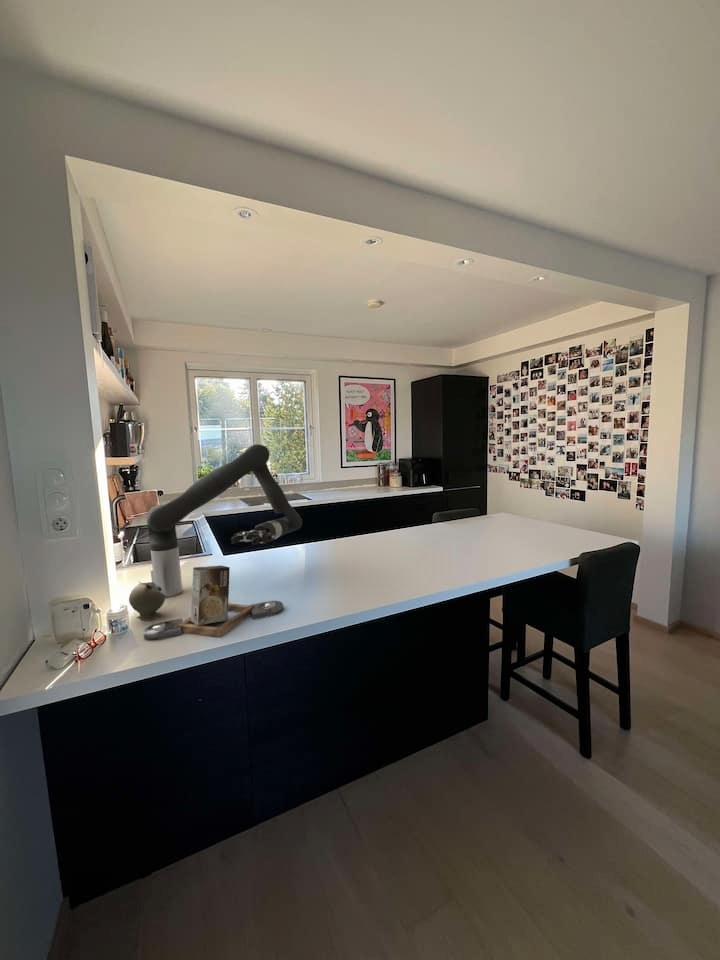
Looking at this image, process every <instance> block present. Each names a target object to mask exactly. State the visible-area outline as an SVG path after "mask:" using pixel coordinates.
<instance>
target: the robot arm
mask: <svg viewBox="0 0 720 960" xmlns="http://www.w3.org/2000/svg"><path fill="white" fill-rule="evenodd" d="M269 460H270V450H269V449H268V448H267V447H266V446H265V445H262V444H257V443H256V444H253V445H251V446H249V447H247V448H246V449H245V451H244V452H243V453H242V454H240V455H239V456H238V457H236V458H235V459H233V460H231V461H230V462H227V463H226V464H223V465H221V466H219V467H217V468H216V469H214V470H211V471H210V472H208V473H206V474H205V475H203V476H202V477H200V478H199V479H198V480H196V481H195V482H193V484H192V485H190V486H189V487H188V488H187V489H186V490H185V491H184V492H183V493H181V495H179V496H177V497H176V498H174V499H173V500H170V501H168V502H166V503H165V504H156V505H154V506H152V507H151V508H150V509H149V510H148V512H147V513H146V525H147V532H148V541H149V548H150V556H151V566H152V567H151V568H152V569H150V578H151V579H150V580H151V582H153V583H155V584H156V586H158V587H161V589H162V590H161V591H160V592H161V593H163V594H164V595H166V596H165V598H170V597H174V596H176V595H179V594H181V593H183V583H182V581H183V579H182V571H181V561H180V553H179V551H180V550H179V541H178V537H177V530H176V525H177V524H178V523H179V522H181V520H182V521H183V519H184V518H185V517H187V516H188V515H189V514H191V513H192V512H193V511H195V510H197V509H199V508H201V507H203V506H204V505H205V504H207V503H209V502H211V501H213V500H214V499H215V498H217V497H219V496H220V495H221V494H223V493H225V492H226V491H227V490H229V489H230V488H231V487H233V485H235V484H236V483H237V482H238V481H240V480H241V479H242V478H243V477H245V476H246V475H248V474H249V473H251V472H252V473H253V475H254V476H255V478H256V480H257V481H258V483H259V484H260V487H261V489H262V490H263V492H264V495H265V496H266V498H267V500H268V502H269V504H270V507H271V508H272V510H273V512H274V513H275V514H284V515H285V516H284V517H281V518H277V519H273V520H269V521H266V522H262V523H259V524H258V525H255V526H254V529H251V530H250V531H246V530H242V531H240V532H237V533H234V534H233V536H232V537H230V541H231V542H230V543H231V544H232V545H233V544H236V543H237V544H238V543H240V542H244V543H249V542H251V545H252V546H256V545H258V544H262V545H263V544H264V545H265V544H268V543H270V542H272V541H274V540H277V539H278V538H280V537H283V536H284V535H287V534H289V533H292V532H294V531H297V530H299V529H301V528H302V526H303V519H302V517H301V516H300V514H299V513H298V512H297V511H296V510H295V508H293V506H292V505H291V504H290V502H289V501H288V499H287V496H286V494H285V493H284V491H283V489H282V487H281V486H280V484H279V483H278V482H277V481H276V479H275V478H274V476H273V474H272V473H271V471H270V468H269V467H268V465H267V463H268V461H269ZM247 538H248V539H247Z"/></svg>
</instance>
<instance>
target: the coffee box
mask: <svg viewBox="0 0 720 960" xmlns="http://www.w3.org/2000/svg"><path fill="white" fill-rule="evenodd" d="M230 569H231V568H230V567H229V566H226V565H225V566H224V565H210V566H209V565H208V566H207V565H206V566H198V567H197V566H196V567H195V566H194V567H193V568H192V571H193V572H192V588H191V589H192V592H191V611H190V612H191V613H190V617H191V621H192V622H193V623H195V624H194V625H201V626H204V625H208V624H213V623H220V622H227V621H229V619H228V618H229V611H228V603H229V595H230V594H229V591H230Z"/></svg>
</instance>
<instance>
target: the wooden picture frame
mask: <svg viewBox="0 0 720 960" xmlns="http://www.w3.org/2000/svg"><path fill="white" fill-rule="evenodd" d="M251 605H252V604H249V605H248V604H239V603H231V602H230V603H229V602H228V612H230V611H235V612H234V613H238V614H236V615H234V616H233V617H232V618H230V619H228V620H227V621H225V622H224V623H223V624H221V625H220V626H218V627H216V626H208V625H197V624H195V623H193V622H192V621H191V616H190V617H188V618H186V619H184V620H183V622H181V623H180V624H178V625H177V627H181V629H182V634H183V633H184V634H191V635H197V636H206V637H214V638H221V637H223V636H224V635H225V634H227V633H228V632H230V631H231V630H232V629H233V628H235V627H236V626H238V625H239V624H241V623H242V622H243V621H244V620H246V619H247V618H248V617H250V616H252V615H251V609H252V608H254V606H251ZM239 612H240V613H239ZM249 615H250V616H249ZM245 618H246V619H245ZM241 621H242V622H241Z"/></svg>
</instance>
